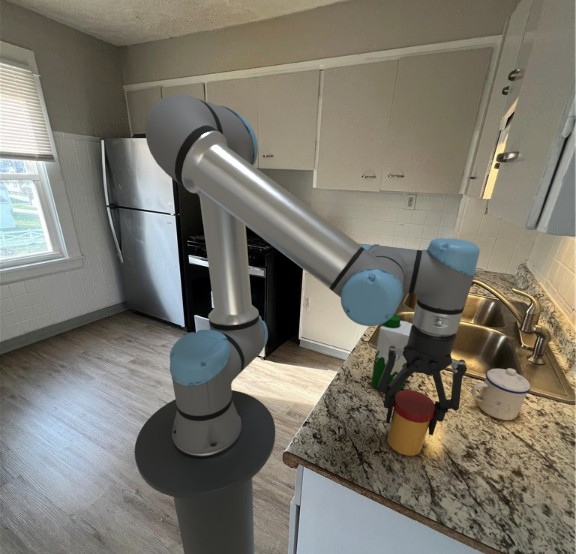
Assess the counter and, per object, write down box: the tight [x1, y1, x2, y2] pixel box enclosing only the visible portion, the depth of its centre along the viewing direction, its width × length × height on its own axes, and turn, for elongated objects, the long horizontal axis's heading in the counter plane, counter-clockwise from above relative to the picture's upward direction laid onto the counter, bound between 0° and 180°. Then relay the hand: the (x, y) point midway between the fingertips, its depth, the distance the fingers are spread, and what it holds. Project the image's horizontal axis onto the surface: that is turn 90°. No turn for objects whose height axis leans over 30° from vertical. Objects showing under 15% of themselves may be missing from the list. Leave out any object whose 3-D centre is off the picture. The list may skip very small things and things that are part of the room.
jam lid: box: [393, 389, 435, 423], centre depth 64 cm, size 8×8×2 cm
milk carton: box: [371, 313, 413, 395], centre depth 82 cm, size 9×9×20 cm
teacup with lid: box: [470, 367, 531, 421], centre depth 76 cm, size 12×9×12 cm
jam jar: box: [386, 408, 430, 457], centre depth 66 cm, size 7×7×11 cm
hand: (408, 424), depth 66 cm, fingers closed on jam lid, 8 cm apart
